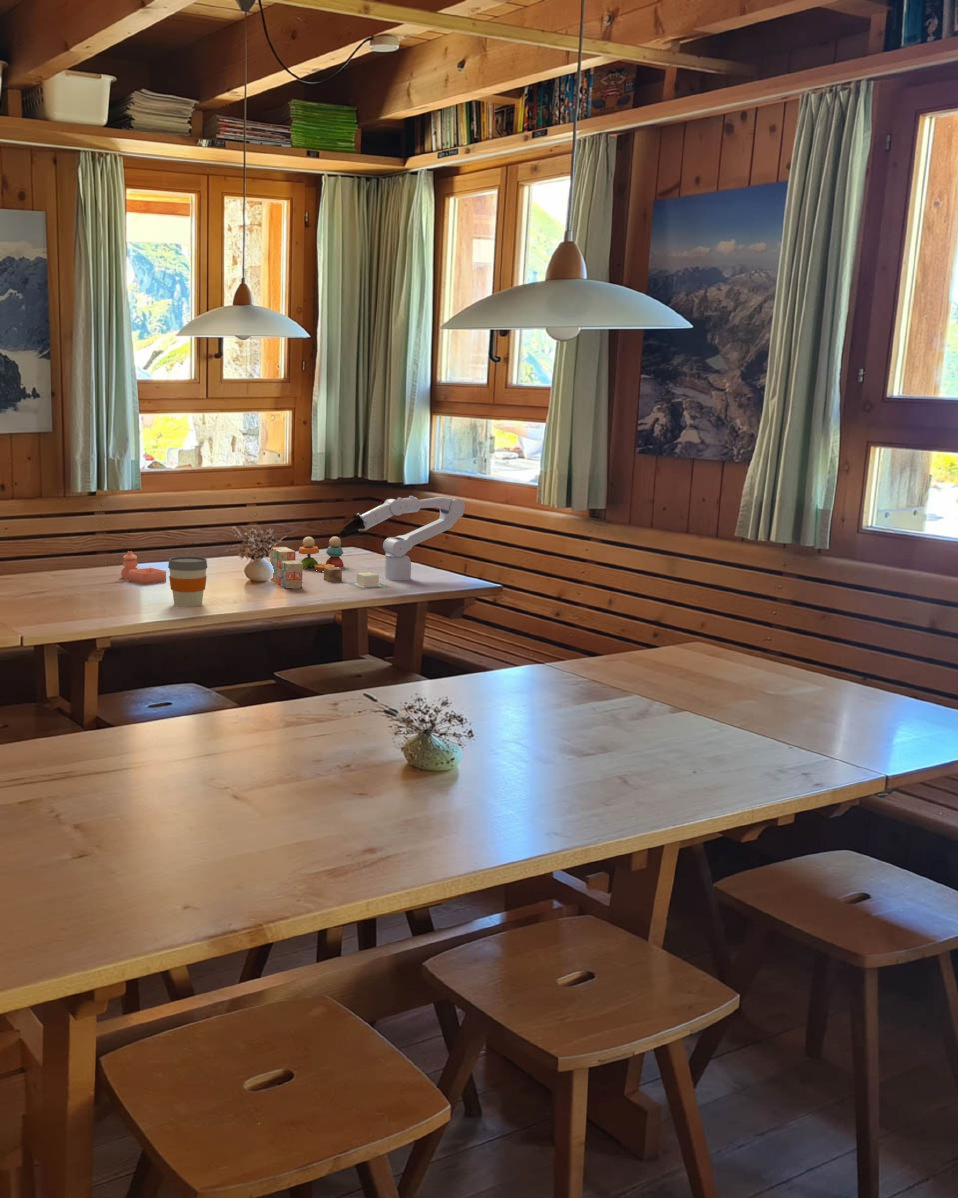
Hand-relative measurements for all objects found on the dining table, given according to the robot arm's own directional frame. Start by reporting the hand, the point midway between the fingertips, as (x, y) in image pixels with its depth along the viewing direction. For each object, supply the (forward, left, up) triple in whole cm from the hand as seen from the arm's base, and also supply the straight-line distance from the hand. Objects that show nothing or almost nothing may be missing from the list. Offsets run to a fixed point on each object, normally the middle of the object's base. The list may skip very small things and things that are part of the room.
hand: (342, 533), depth 438 cm
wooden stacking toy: (-8, -31, -19) cm, 37 cm away
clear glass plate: (-6, +10, -19) cm, 22 cm away
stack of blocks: (+20, -5, -19) cm, 28 cm away
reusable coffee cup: (+65, +19, -19) cm, 71 cm away
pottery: (+67, -30, -19) cm, 75 cm away
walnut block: (+2, -3, -19) cm, 19 cm away
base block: (-6, +10, -18) cm, 21 cm away
